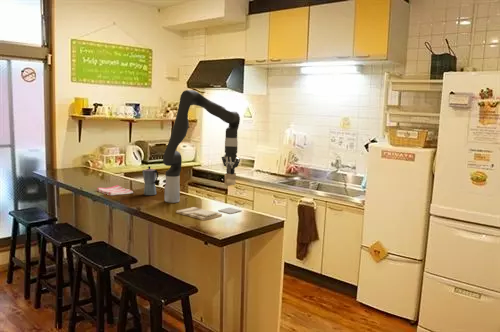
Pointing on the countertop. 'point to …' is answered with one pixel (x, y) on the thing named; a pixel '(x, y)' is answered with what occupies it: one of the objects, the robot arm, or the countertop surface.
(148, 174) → the moka pot
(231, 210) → the mat
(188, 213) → the board
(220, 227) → the countertop surface
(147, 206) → the countertop surface
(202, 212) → the tile
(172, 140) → the robot arm
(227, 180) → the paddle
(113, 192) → the dish towel
